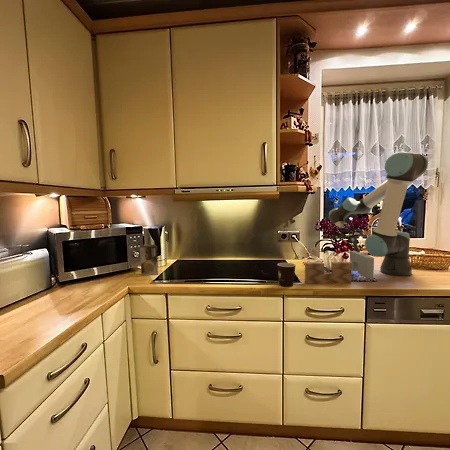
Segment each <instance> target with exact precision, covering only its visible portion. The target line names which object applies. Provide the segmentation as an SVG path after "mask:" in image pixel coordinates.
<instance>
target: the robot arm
mask: <svg viewBox="0 0 450 450" xmlns="http://www.w3.org/2000/svg"><path fill="white" fill-rule="evenodd" d="M428 166H429V162H428V159H427V157H425V156H424V155H423V154H421V153H417V152H409V151H398V152H394V153H391V155H389V156H388V158H387V159H386V160H385V163H384V171H385V173H386V177H385V178H386V180H385V181H384V182H383V183H381V184H380V185H378V186H377V187H376V188H374V190H372V191H371V192H369V193H368V194H366V195H365V196H364V197H363V198H361V199H360V200H359V201H357V200H356V199H355V198H352V197H347V198H346V199H345V200H344V201H343V202H342V203H341V204H340V205H339V206H338V207H337V208H336V207H335V208H332V209H330V211H329V212H328V218H329V220H330V223H331V222H332V223H333V224H335V225H336V226H338V227H339V229H340V231H341V233H343V234H348V232H346V231H344V230H343V229H342V227H343V226H344V224H346V221H345V220H346V219H347V218H348V217H349V216H350V215H358V214H363V215H364V214H368V213H370V212H371V211H372V209H373V207H375V206H376V205H378V204H379V203H381V202H382V201H383V203H382V205H381V206H382V207H381V210H380V214H379V217H378V220H377V221H378V222H377V224H376V226H375V227H374V228H372V231H371V234H370V235H369V236H367V237H366V238H365V241H364V248H365V249H366V251H367V253H368V254H370V255H369V256H371V257H374V258H383V259H382V261H381V265H380V266H379V271H380V272H381V273H383V274H387V275H392V276H400V277H401V276H404V277H405V276H411V275H413V274H412V273H413V270H412V267H411V264H410V261H409V257H410V241H411V239H410V238H411V237H410V236H411V235H410V233H408V232H405V231H396V228H397V224H398V221H399V219H400V215H401V211H402V207H403V205H404V204H403V203H404V200H405V197H406V193H407V189H408V188H409V187H408V186H409V185H410V184H412V183H413V182H414V181H417V179H418V178H420V177H421V176H422V175H424V174H425V172H426V171H427V169H428ZM332 223H331V224H332ZM346 225H347V224H346ZM343 238H344V239H345V238H346V239H349V237H348V236H347V237H344V236H343ZM349 241H350V243H351V244H352V245H353V247H354V251H357V252H359V253H360V249H359V245H358V242H357V237H352V236H351V237H350V239H349ZM350 263H352V261H351V259H350Z"/></svg>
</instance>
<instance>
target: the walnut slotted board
mask: <svg viewBox="0 0 450 450" xmlns="http://www.w3.org/2000/svg"><path fill="white" fill-rule="evenodd" d="M351 269H352V263H350V262H346V261H332V262H331V272H325V263H324V262H321V261H317V262H315V261H314V262H312V261H311V262H310V261H309V262H308V261H307V262H305V263H304V283H305V284H306V285H324V284H325V285H326V284H328V285H329V284H352V270H351Z"/></svg>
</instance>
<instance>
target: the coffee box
mask: <svg viewBox="0 0 450 450" xmlns="http://www.w3.org/2000/svg"><path fill="white" fill-rule="evenodd" d="M139 254H140V255H139V256H140V257H139V258H140V273H141V274H140V276H141V277H145V276H154V275H158V274H159V270H158V269H159V268H158V246H157V244H144V245H143V244H142V245H141V244H140V245H139Z"/></svg>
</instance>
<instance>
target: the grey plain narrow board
mask: <svg viewBox="0 0 450 450" xmlns="http://www.w3.org/2000/svg"><path fill="white" fill-rule="evenodd" d="M350 259H351V261H352V269H351V272H352V271H353V272H357V274H359V275H360V276H362V277H364V278H365V279H374V276H375V275H374V272H375V271H374V270H375V257H374V256H371V255H367V254H365V253H362V252H360V251H359V252H357V251H354V250H353V251H350Z"/></svg>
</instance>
